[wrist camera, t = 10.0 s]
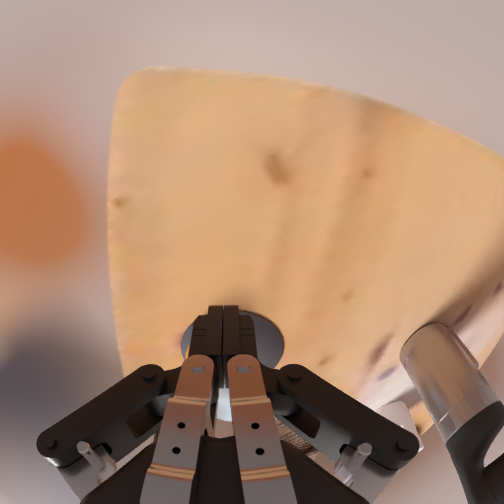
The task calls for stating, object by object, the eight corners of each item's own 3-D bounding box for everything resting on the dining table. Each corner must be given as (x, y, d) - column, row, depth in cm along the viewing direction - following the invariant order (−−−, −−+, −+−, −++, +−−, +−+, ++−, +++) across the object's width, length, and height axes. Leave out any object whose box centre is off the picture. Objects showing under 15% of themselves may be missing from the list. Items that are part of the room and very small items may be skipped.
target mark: (287, 308, 33) (287, 309, 33) (279, 380, 38) (279, 381, 38) (174, 310, 32) (174, 311, 32) (188, 381, 38) (188, 382, 37)
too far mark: (272, 380, 38) (272, 381, 38) (268, 419, 43) (268, 420, 43) (195, 382, 38) (195, 382, 37) (203, 420, 42) (203, 421, 42)
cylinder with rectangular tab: (381, 402, 44) (402, 452, 33) (413, 399, 46) (435, 443, 35) (357, 427, 48) (373, 474, 37) (389, 424, 49) (406, 466, 38)
